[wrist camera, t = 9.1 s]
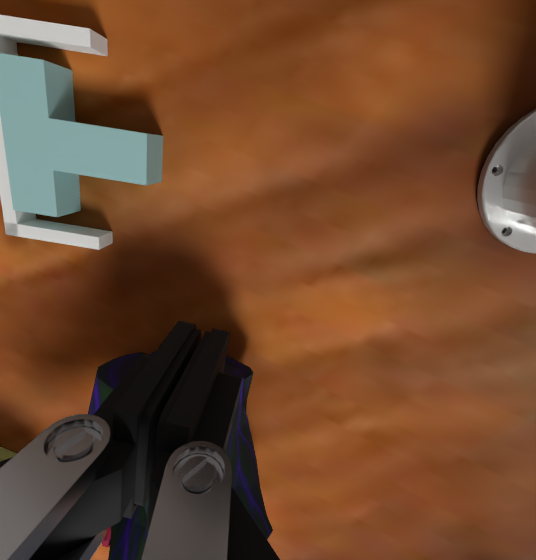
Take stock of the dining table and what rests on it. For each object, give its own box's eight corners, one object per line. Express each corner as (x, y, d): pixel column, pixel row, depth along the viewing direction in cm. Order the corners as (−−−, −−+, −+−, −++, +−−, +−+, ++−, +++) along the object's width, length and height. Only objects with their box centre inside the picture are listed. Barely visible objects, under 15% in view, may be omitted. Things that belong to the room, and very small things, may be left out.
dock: (107, 39, 27) (89, 28, 25) (112, 243, 33) (99, 249, 31) (0, 22, 27) (-28, 10, 25) (26, 228, 34) (6, 234, 31)
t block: (164, 84, 28) (147, 76, 25) (160, 223, 32) (145, 231, 29) (26, 63, 28) (-9, 51, 25) (41, 204, 33) (13, 210, 29)
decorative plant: (263, 331, 47) (214, 520, 50) (47, 304, 36) (2, 548, 39) (354, 414, 28) (267, 709, 31) (-39, 410, 17) (-112, 865, 20)
